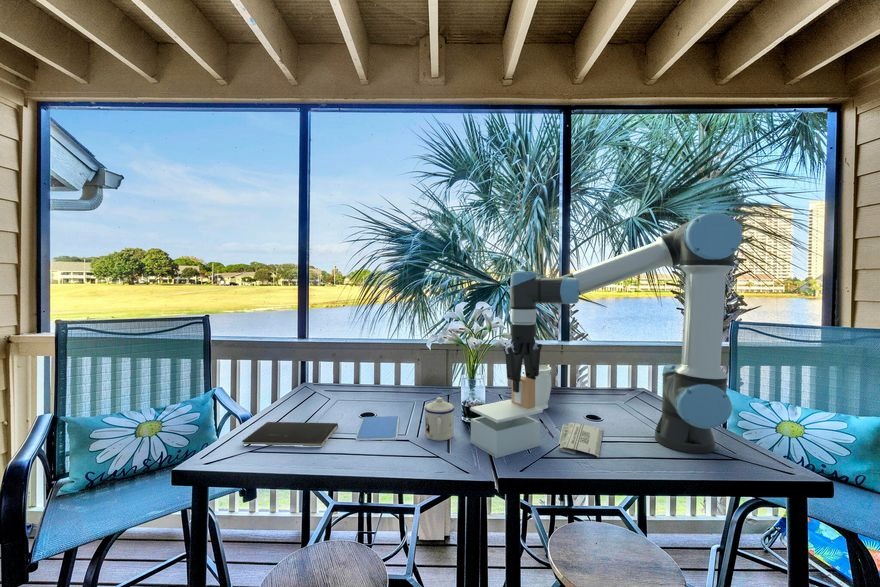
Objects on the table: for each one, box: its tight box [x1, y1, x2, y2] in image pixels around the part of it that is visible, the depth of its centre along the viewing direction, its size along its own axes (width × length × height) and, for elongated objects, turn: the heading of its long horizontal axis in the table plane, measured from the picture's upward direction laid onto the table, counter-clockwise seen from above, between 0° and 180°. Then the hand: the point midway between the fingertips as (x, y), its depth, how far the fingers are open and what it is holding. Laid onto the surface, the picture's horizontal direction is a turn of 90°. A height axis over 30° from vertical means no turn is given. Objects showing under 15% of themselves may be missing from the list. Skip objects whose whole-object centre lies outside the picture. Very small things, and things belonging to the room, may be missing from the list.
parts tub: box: [470, 416, 541, 459], centre depth 117 cm, size 12×16×7 cm
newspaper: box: [558, 422, 604, 459], centre depth 120 cm, size 23×12×2 cm, turn 155°
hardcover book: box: [241, 421, 339, 447], centre depth 123 cm, size 16×23×2 cm
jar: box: [522, 364, 552, 410], centre depth 152 cm, size 11×10×15 cm
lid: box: [469, 375, 544, 423], centre depth 117 cm, size 13×17×9 cm
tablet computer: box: [354, 415, 400, 441], centre depth 129 cm, size 19×13×1 cm, turn 4°
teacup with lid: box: [424, 396, 455, 442], centre depth 122 cm, size 12×9×12 cm
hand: (523, 401), depth 120 cm, fingers closed on lid, 3 cm apart
